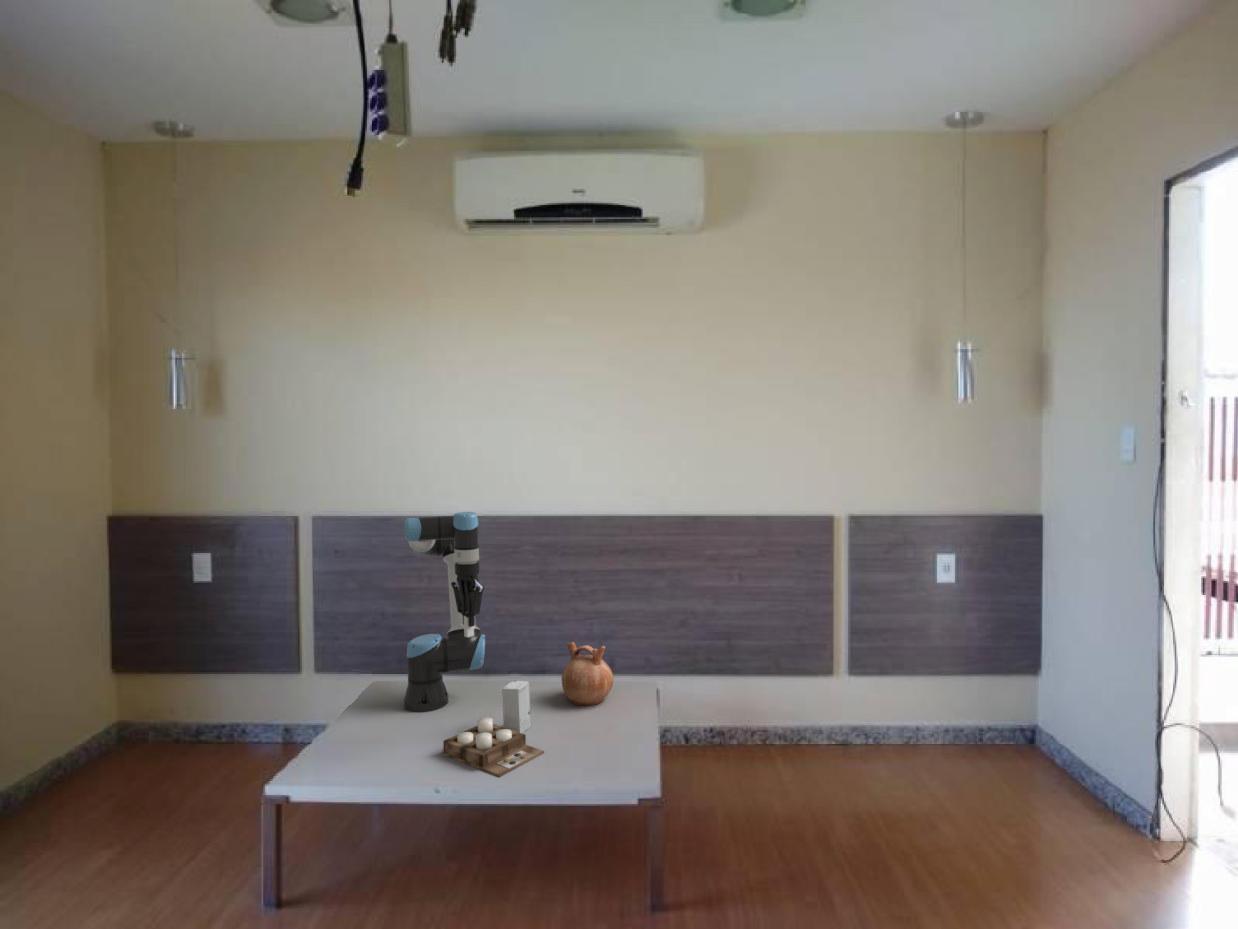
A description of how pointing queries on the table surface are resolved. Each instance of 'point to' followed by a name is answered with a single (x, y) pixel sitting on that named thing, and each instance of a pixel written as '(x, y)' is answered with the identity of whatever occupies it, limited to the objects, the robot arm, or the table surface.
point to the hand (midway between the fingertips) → (469, 635)
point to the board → (492, 752)
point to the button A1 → (465, 737)
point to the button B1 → (483, 741)
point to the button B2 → (503, 734)
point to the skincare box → (516, 706)
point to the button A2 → (485, 725)
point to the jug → (586, 676)
